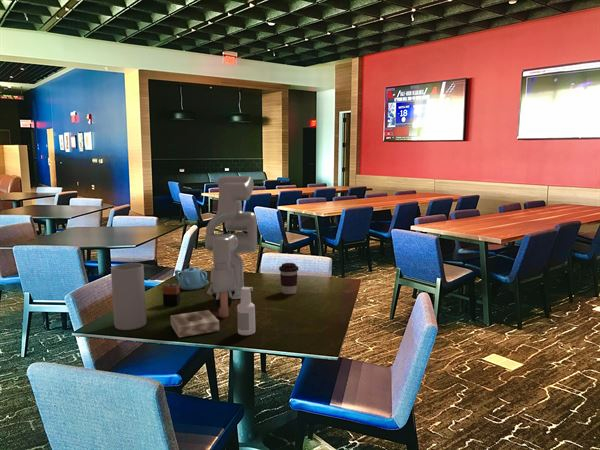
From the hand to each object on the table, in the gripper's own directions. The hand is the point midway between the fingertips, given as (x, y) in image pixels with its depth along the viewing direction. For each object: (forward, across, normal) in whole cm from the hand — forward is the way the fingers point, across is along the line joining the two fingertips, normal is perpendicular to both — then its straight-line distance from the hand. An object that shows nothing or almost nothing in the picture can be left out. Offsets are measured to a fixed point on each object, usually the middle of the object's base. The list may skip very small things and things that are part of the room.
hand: (223, 306), depth 207 cm
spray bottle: (+4, -2, +24) cm, 24 cm away
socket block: (+4, +15, +9) cm, 18 cm away
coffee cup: (+4, -41, -21) cm, 46 cm away
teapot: (+5, +1, -56) cm, 56 cm away
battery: (+5, +17, -28) cm, 33 cm away
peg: (+4, 0, 0) cm, 4 cm away
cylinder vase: (+5, +38, -6) cm, 39 cm away
